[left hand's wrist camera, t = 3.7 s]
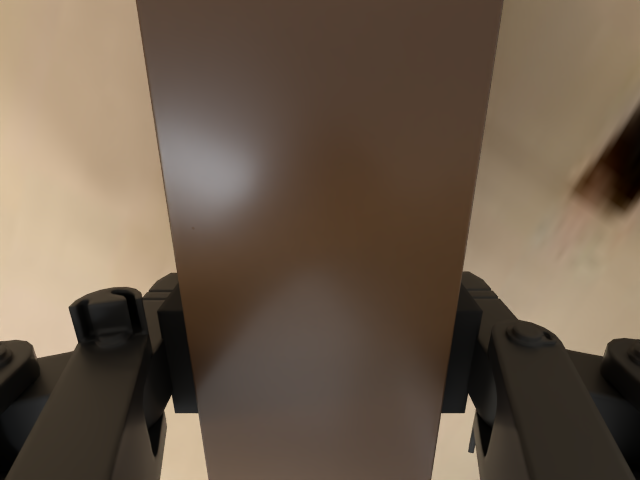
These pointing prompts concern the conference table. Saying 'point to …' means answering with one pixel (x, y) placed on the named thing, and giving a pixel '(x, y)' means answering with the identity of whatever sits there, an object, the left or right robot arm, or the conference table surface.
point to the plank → (319, 220)
